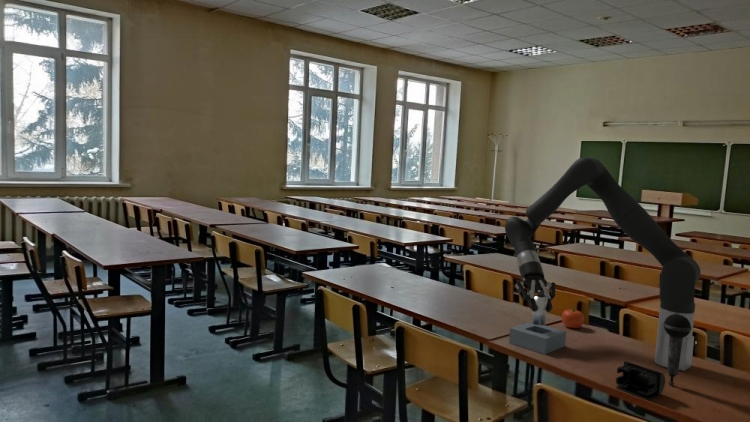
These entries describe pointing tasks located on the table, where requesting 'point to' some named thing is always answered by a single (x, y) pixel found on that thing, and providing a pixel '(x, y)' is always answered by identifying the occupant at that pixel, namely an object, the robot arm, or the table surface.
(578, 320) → the pumpkin
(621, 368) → the end cap
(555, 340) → the grey block with hole
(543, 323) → the silver bottle
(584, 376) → the table surface
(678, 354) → the microphone
